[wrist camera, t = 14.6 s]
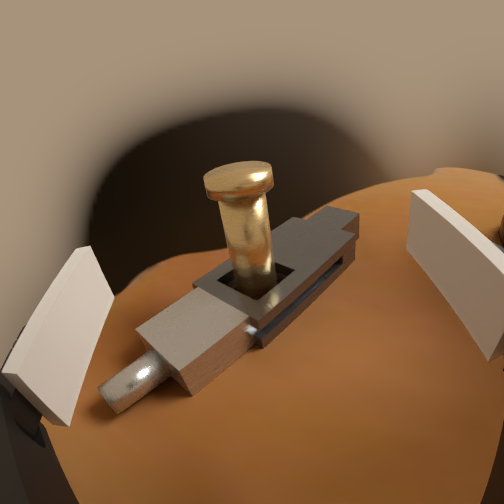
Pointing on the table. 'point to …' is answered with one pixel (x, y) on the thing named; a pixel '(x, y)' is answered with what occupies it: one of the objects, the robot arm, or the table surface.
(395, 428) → the table surface
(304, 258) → the clevis
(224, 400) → the table surface
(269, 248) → the clevis pin
